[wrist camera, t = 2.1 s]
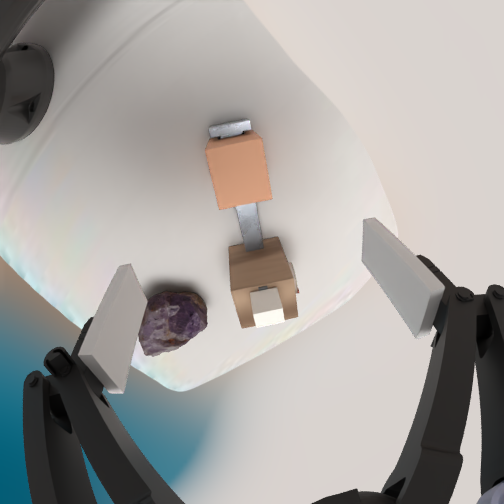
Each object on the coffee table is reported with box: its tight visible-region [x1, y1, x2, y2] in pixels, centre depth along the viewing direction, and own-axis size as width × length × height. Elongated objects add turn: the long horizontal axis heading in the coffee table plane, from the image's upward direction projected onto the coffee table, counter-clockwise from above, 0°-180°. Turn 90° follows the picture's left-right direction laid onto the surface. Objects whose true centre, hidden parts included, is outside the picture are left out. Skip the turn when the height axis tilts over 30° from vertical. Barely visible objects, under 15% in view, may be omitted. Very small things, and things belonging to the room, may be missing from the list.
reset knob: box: [250, 287, 285, 328], centre depth 30 cm, size 2×3×4 cm, turn 101°
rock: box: [138, 291, 208, 357], centre depth 40 cm, size 12×9×10 cm
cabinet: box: [229, 237, 299, 328], centre depth 36 cm, size 6×8×10 cm
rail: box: [209, 119, 264, 252], centre depth 34 cm, size 18×4×4 cm, turn 11°
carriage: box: [205, 130, 272, 210], centre depth 29 cm, size 6×5×9 cm
